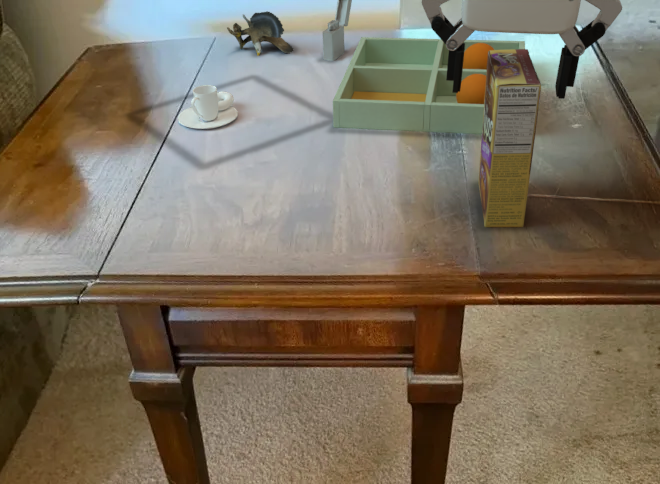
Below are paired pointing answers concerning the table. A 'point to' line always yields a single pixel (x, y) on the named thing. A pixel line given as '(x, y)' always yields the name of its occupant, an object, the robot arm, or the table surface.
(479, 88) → the clementine
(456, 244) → the table surface
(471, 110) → the divided tray
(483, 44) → the clementine
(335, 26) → the lighter
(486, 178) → the candy box
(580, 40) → the robot arm
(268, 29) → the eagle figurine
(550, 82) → the table surface
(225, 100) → the teacup and saucer
